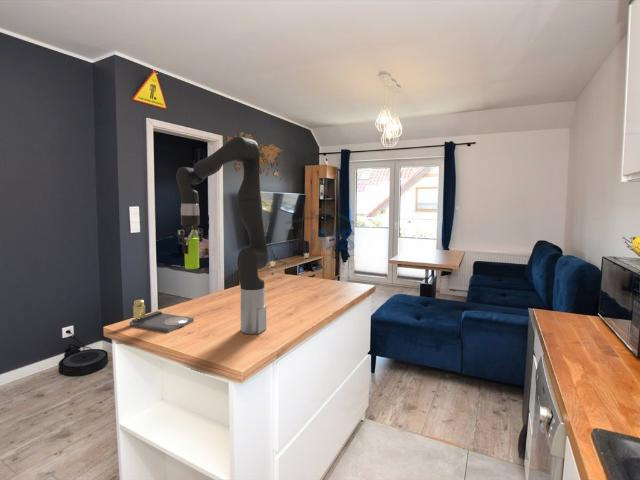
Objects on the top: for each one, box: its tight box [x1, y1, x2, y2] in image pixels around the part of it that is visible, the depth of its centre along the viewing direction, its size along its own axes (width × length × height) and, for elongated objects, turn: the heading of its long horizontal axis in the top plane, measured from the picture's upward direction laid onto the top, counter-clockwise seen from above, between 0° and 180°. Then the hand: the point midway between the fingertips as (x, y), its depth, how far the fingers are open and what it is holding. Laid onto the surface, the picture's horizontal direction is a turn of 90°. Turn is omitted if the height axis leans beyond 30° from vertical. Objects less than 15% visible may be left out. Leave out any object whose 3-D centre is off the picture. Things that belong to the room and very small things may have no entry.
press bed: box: [129, 310, 195, 333], centre depth 142 cm, size 21×14×2 cm
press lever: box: [132, 299, 146, 319], centre depth 140 cm, size 4×4×7 cm
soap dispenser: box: [184, 226, 200, 270], centre depth 149 cm, size 6×7×20 cm
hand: (191, 252), depth 150 cm, fingers closed on soap dispenser, 6 cm apart
